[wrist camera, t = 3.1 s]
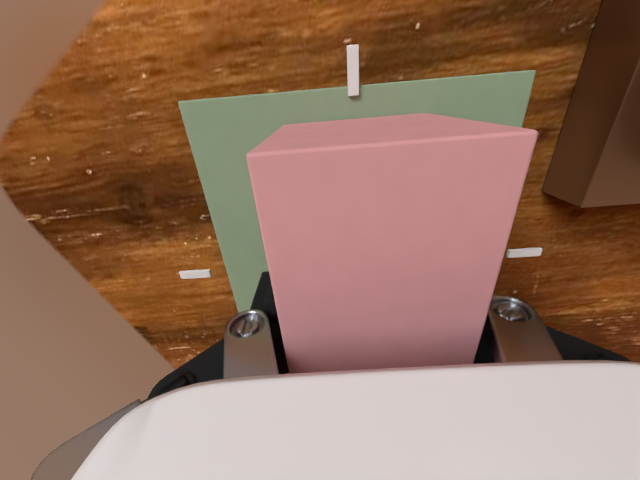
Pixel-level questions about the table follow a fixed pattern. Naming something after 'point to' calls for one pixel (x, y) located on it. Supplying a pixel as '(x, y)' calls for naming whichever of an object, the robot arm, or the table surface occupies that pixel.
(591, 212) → the table surface
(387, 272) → the pink bar
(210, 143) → the green mat
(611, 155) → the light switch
